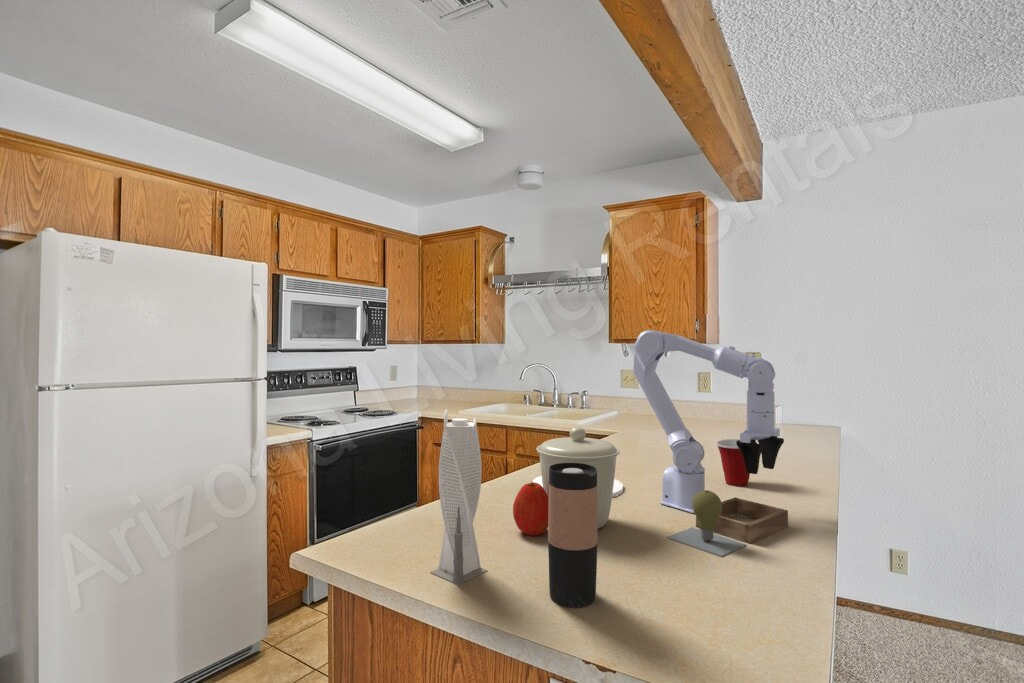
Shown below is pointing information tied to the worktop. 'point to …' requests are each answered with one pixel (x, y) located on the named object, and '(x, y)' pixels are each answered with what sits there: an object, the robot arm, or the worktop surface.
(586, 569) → the travel mug
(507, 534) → the worktop surface
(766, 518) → the walnut box
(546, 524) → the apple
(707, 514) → the light bulb
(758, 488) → the worktop surface
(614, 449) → the canister
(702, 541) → the pad
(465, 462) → the skyscraper
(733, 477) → the plastic cup
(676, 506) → the robot arm
